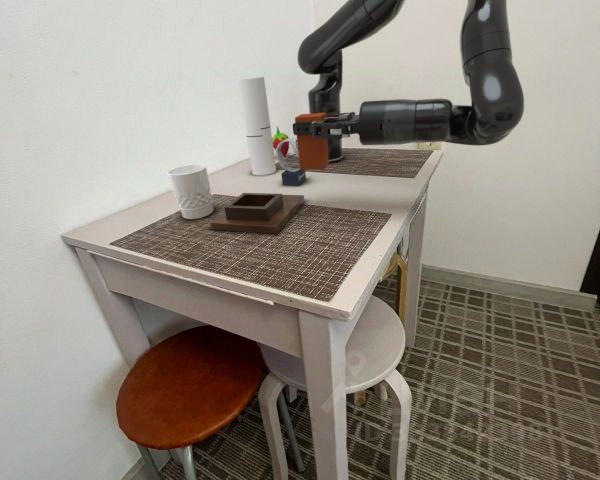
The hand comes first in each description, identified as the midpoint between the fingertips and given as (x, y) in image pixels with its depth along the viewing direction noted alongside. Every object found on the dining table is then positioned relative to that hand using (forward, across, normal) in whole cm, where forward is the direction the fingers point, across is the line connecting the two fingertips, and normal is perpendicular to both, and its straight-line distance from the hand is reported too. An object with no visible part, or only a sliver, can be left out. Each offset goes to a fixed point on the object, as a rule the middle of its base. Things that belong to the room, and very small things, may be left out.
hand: (297, 126), depth 64 cm
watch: (+8, -14, +16) cm, 23 cm away
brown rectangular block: (-3, 0, +8) cm, 8 cm away
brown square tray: (+8, +7, +16) cm, 19 cm away
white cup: (+23, +8, +16) cm, 29 cm away
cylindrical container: (+21, -23, +17) cm, 35 cm away
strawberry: (+22, -40, +17) cm, 49 cm away
